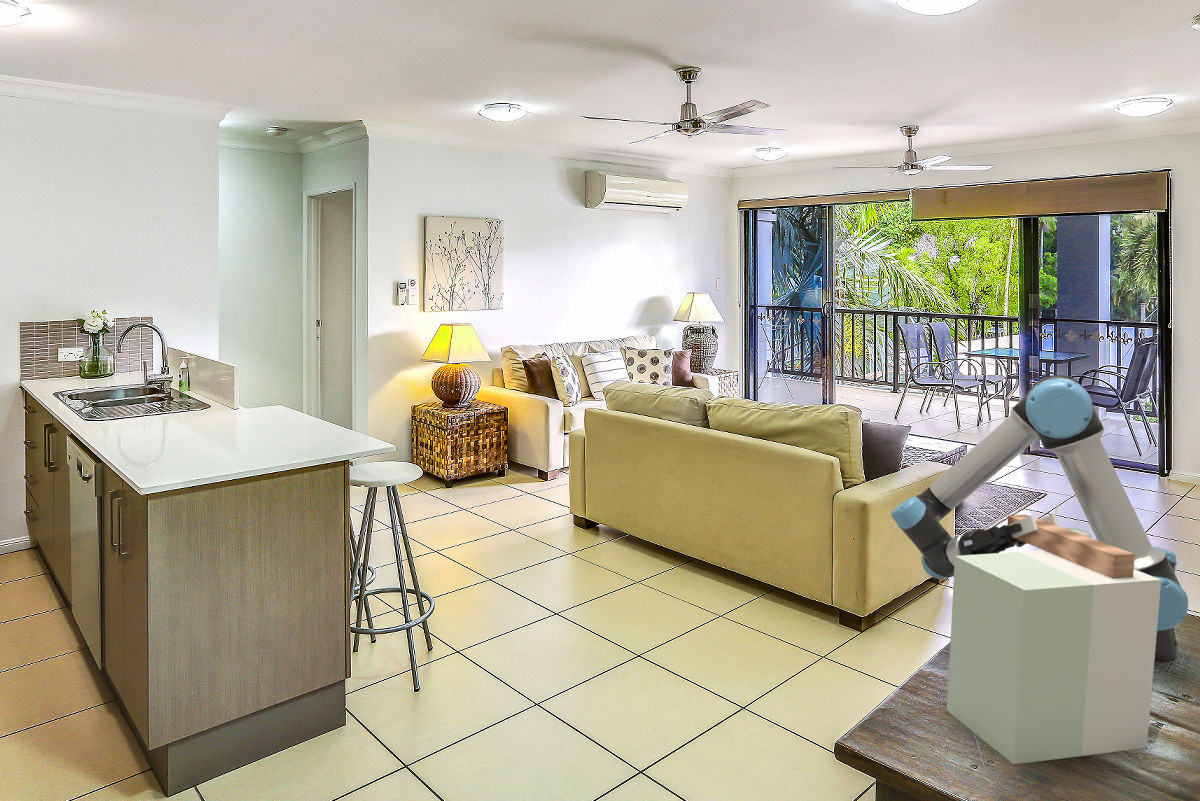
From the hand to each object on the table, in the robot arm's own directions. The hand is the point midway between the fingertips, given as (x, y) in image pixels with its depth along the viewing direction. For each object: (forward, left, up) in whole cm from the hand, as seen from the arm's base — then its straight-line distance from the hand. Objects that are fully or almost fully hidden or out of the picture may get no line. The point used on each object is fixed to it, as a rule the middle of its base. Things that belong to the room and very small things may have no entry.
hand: (1045, 521), depth 151 cm
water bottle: (-38, -43, -35) cm, 67 cm away
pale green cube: (+7, +12, -35) cm, 37 cm away
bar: (0, +5, -5) cm, 7 cm away
